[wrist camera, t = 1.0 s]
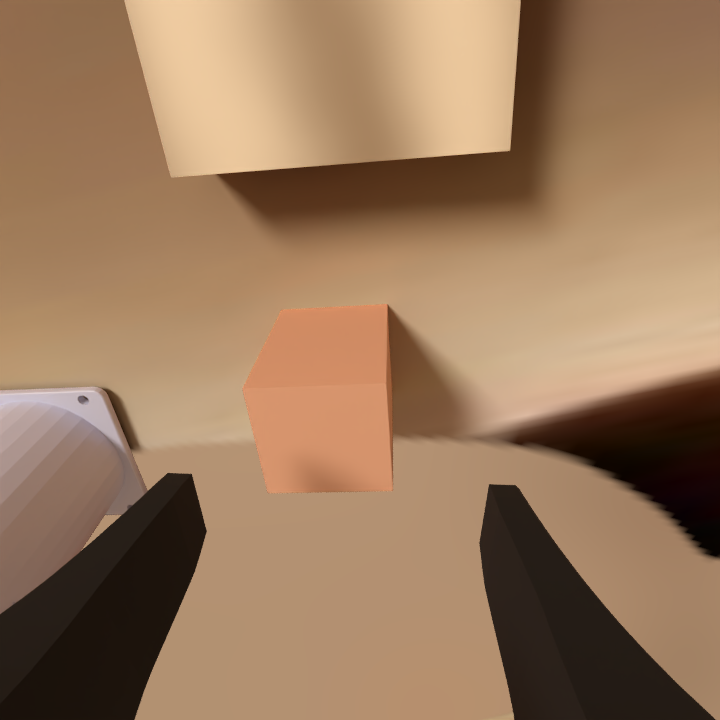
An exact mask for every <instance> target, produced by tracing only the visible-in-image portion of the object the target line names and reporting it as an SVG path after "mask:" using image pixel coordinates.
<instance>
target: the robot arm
mask: <svg viewBox="0 0 720 720" xmlns="http://www.w3.org/2000/svg"><path fill="white" fill-rule="evenodd" d="M83 396H85V397H87V398H88V400H87V399H85V398H84V397H83ZM104 515H121V516H120V517H119V518H118V519H117V520H116V521H115V522H114V523H113V524H111V525H110V526H109V527H108V528H107V529H106V530H105V531H104V532H103V533H101V534H100V535H99V536H98V537H97V538H96V539H95V540H94V541H92V542H91V543H90V544H89V545H88V546H87V547H85V548H84V549H83V550H82V551H81V549H82V548H83V547H84V545H85V544H86V542H87V541H88V539H89V538H90V536H91V535H92V533H93V532H94V530H95V529H96V527H97V526H98V524H99V523H100V521H101V520H102V518H103V517H104ZM206 532H207V531H206V527H205V524H204V519H203V516H202V512H201V508H200V504H199V500H198V496H197V493H196V489H195V485H194V481H193V477H192V474H176V473H167V474H166V475H165V476H164V477H163V478H162V479H161V480H160V481H158V482H157V483H156V484H155V485H154V486H153V487H152V488H151V489H150V490H149V491H147V488H146V486H145V484H144V482H143V479H142V476H141V474H140V472H139V469H138V467H137V465H136V462H135V460H134V457H133V455H132V452H131V450H130V447H129V445H128V443H127V440H126V438H125V435H124V433H123V431H122V428H121V426H120V423H119V421H118V418H117V416H116V414H115V411H114V409H113V406H112V404H111V402H110V399H109V397H108V395H107V393H106V392H105V391H104V390H103V389H101V388H99V387H74V388H49V389H24V390H0V720H134V719H135V716H136V713H137V710H138V707H139V704H140V701H141V698H142V695H143V692H144V689H145V687H146V684H147V682H148V679H149V677H150V674H151V672H152V669H153V667H154V664H155V662H156V660H157V658H158V655H159V653H160V650H161V648H162V646H163V644H164V642H165V639H166V637H167V634H168V632H169V630H170V628H171V626H172V623H173V621H174V619H175V616H176V614H177V612H178V610H179V607H180V605H181V603H182V600H183V598H184V595H185V593H186V591H187V589H188V586H189V584H190V582H191V579H192V577H193V574H194V572H195V569H196V566H197V562H198V559H199V556H200V553H201V549H202V546H203V542H204V539H205V535H206ZM480 552H481V560H482V569H483V576H484V584H485V589H486V594H487V598H488V603H489V607H490V611H491V616H492V620H493V624H494V629H495V633H496V637H497V641H498V645H499V650H500V654H501V658H502V662H503V667H504V671H505V675H506V679H507V684H508V688H509V693H510V698H511V703H512V708H513V713H514V720H715V719H714V718H713V717H712V716H711V715H710V714H709V713H708V712H707V711H706V710H705V709H703V707H702V706H700V705H699V704H698V703H697V702H696V701H695V700H694V699H693V698H692V697H691V696H690V695H689V694H688V693H687V692H686V691H684V689H682V688H681V687H680V686H679V685H678V684H677V683H676V682H675V681H674V680H673V679H672V678H671V677H670V676H669V675H668V674H667V673H666V672H665V671H664V670H663V669H662V668H661V667H660V666H659V665H658V664H657V663H656V662H655V661H654V660H653V658H651V656H650V655H649V654H648V653H646V651H645V650H644V649H643V648H642V647H641V646H640V645H639V644H638V643H637V642H636V640H635V639H634V638H633V637H632V636H631V635H630V634H629V633H628V632H627V631H626V630H625V629H624V627H623V626H622V625H621V624H620V623H619V622H618V621H617V619H616V618H615V617H614V616H613V615H612V614H611V613H610V611H609V610H608V609H607V608H606V607H605V606H604V604H603V603H602V602H601V601H600V600H599V598H598V597H597V596H596V595H595V593H594V592H593V591H592V590H591V589H590V587H589V586H588V585H587V584H586V582H585V581H584V580H583V579H582V578H581V576H580V575H579V574H578V572H577V571H576V570H575V568H574V567H573V566H572V564H571V563H570V562H569V560H568V559H567V558H566V557H565V555H564V554H563V552H562V551H561V550H560V548H559V547H558V546H557V544H556V543H555V542H554V540H553V539H552V537H551V536H550V535H549V533H548V532H547V530H546V529H545V527H544V526H543V524H542V523H541V522H540V520H539V519H538V517H537V516H536V514H535V513H534V511H533V510H532V508H531V507H530V505H529V504H528V502H527V500H526V499H525V497H524V496H523V494H522V493H521V491H520V489H519V488H518V487H517V486H516V485H491V484H490V485H489V488H488V494H487V501H486V507H485V513H484V519H483V525H482V531H481V537H480Z"/></svg>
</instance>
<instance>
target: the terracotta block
mask: <svg viewBox="0 0 720 720" xmlns="http://www.w3.org/2000/svg"><path fill="white" fill-rule="evenodd" d="M243 393H244V397H245V401H246V406H247V410H248V414H249V418H250V422H251V426H252V430H253V434H254V438H255V442H256V447H257V451H258V455H259V459H260V463H261V467H262V471H263V475H264V479H265V483H266V488H267V492H268V493H309V492H310V493H311V492H365V491H367V492H368V491H393V410H392V378H391V360H390V343H389V325H388V307H387V304H381V305H362V306H343V307H325V308H306V309H287V310H281V312H280V314H279V316H278V318H277V320H276V322H275V324H274V326H273V328H272V330H271V332H270V334H269V336H268V338H267V340H266V342H265V344H264V346H263V348H262V350H261V352H260V354H259V356H258V358H257V360H256V362H255V364H254V366H253V368H252V370H251V372H250V374H249V376H248V378H247V380H246V382H245V384H244V387H243Z"/></svg>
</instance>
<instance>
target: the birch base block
mask: <svg viewBox="0 0 720 720" xmlns="http://www.w3.org/2000/svg"><path fill="white" fill-rule="evenodd" d="M124 1H125V5H126V8H127V12H128V16H129V20H130V24H131V27H132V31H133V35H134V39H135V43H136V46H137V50H138V54H139V58H140V62H141V65H142V69H143V73H144V77H145V81H146V84H147V88H148V92H149V96H150V100H151V103H152V107H153V111H154V115H155V119H156V123H157V126H158V130H159V134H160V138H161V142H162V145H163V149H164V153H165V157H166V161H167V164H168V168H169V172H170V176H171V177H184V176H197V175H209V174H222V173H235V172H247V171H260V170H273V169H285V168H298V167H311V166H323V165H336V164H348V163H361V162H374V161H386V160H399V159H412V158H424V157H437V156H450V155H462V154H475V153H488V152H500V151H510V145H511V131H512V117H513V103H514V89H515V75H516V60H517V46H518V32H519V18H520V4H521V0H124Z"/></svg>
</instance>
